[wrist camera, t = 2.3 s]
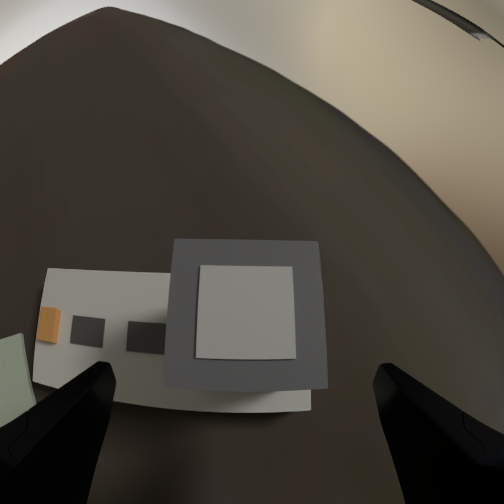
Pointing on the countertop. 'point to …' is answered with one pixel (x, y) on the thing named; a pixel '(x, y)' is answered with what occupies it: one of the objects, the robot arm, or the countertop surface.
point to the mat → (14, 379)
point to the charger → (245, 316)
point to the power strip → (127, 342)
